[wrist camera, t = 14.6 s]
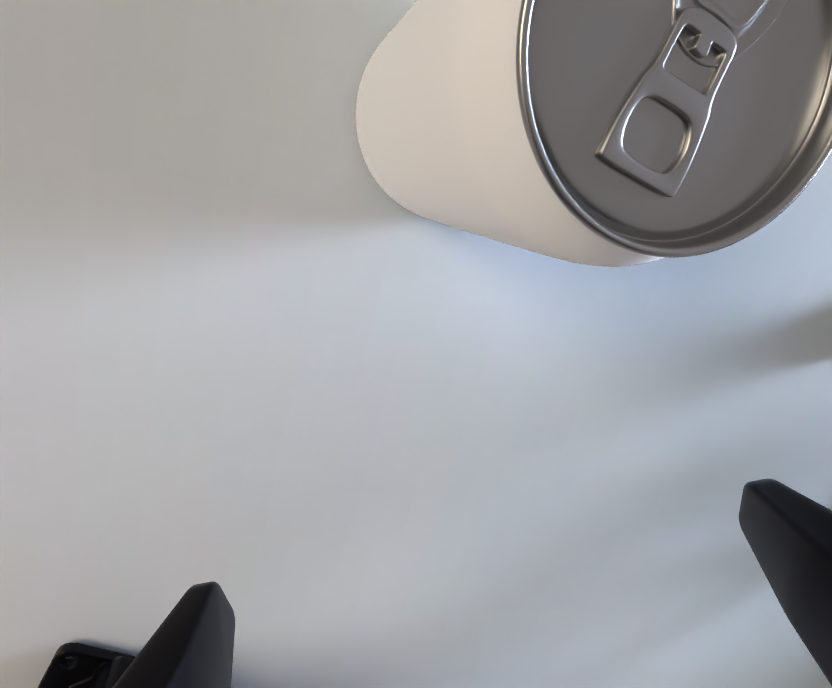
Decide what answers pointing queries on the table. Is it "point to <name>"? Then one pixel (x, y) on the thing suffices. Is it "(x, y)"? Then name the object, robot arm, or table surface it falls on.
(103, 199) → the table surface
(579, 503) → the table surface
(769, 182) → the can
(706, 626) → the table surface
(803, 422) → the table surface
